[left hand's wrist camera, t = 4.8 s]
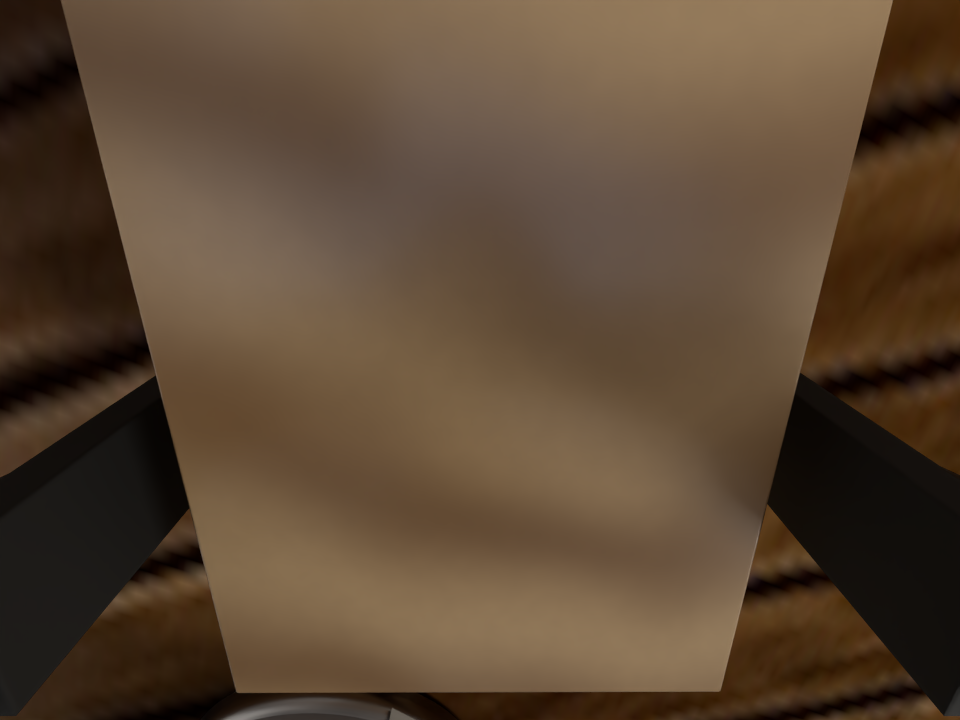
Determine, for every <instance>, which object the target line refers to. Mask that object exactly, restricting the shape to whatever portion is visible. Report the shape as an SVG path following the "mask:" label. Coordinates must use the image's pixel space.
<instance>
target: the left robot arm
mask: <svg viewBox="0 0 960 720" xmlns="http://www.w3.org/2000/svg"><path fill="white" fill-rule="evenodd" d="M767 504H768V505H769V506H770V508H771V509H772V510H773V511H774V512H775V514H776V515H777V516H778V517H779V518H780V520H781V521H782V522H783V523H784V524H785V526H786V527H787V528H788V529H789V530H790V532H791V533H792V534H793V535H794V536H795V538H796V539H797V540H798V541H799V543H800V544H801V545H802V546H803V547H804V549H805V550H806V551H807V552H808V553H809V555H810V556H811V557H812V558H813V559H814V561H815V562H816V563H817V564H818V565H819V567H820V568H821V569H822V570H823V571H824V573H825V574H826V575H827V576H828V577H829V579H830V580H831V581H832V582H833V583H834V585H835V586H836V587H837V588H838V589H839V591H840V592H841V593H842V594H843V595H844V597H845V598H846V599H847V600H848V601H849V603H850V604H851V605H852V606H853V607H854V609H855V610H856V611H857V612H858V613H859V615H860V616H861V617H862V618H863V619H864V621H865V622H866V623H867V624H868V625H869V627H870V628H871V629H872V630H873V631H874V633H875V634H876V635H877V636H878V637H879V639H880V640H881V641H882V642H883V643H884V645H885V646H886V647H887V648H888V649H889V651H890V652H891V653H892V654H893V655H894V657H895V658H896V659H897V660H898V661H899V663H900V664H901V665H902V666H903V667H904V669H905V670H906V671H907V672H908V673H909V675H910V676H911V677H912V678H913V679H914V681H915V682H916V683H917V684H918V685H919V687H920V688H921V689H922V690H923V691H924V693H925V694H926V695H927V696H928V697H929V699H930V700H931V701H932V702H933V703H934V705H935V706H936V707H937V708H938V709H939V711H940V712H941V713H942V714H943V715H944V716H960V475H958V474H956V473H954V472H952V471H949V470H947V469H945V468H943V467H941V466H939V465H937V464H936V463H934V462H933V461H931V460H930V459H928V458H927V457H925V456H924V455H922V454H921V453H919V452H918V451H916V450H915V449H913V448H912V447H910V446H909V445H907V444H906V443H904V442H903V441H901V440H900V439H898V438H897V437H895V436H894V435H892V434H891V433H889V432H888V431H886V430H885V429H883V428H882V427H880V426H879V425H877V424H876V423H874V422H873V421H871V420H870V419H868V418H867V417H865V416H864V415H862V414H861V413H859V412H858V411H856V410H855V409H853V408H852V407H850V406H849V405H847V404H846V403H844V402H843V401H841V400H840V399H838V398H837V397H835V396H834V395H832V394H831V393H830V392H828V391H827V390H825V389H824V388H822V387H821V386H819V385H818V384H816V383H815V382H813V381H812V380H810V379H809V378H807V377H806V376H804V375H803V374H801V373H800V374H799V378H798V382H797V386H796V390H795V394H794V398H793V402H792V406H791V410H790V414H789V418H788V422H787V426H786V430H785V434H784V438H783V442H782V446H781V450H780V454H779V458H778V462H777V466H776V470H775V474H774V478H773V482H772V486H771V490H770V494H769V498H768V502H767ZM188 509H189V504H188V500H187V496H186V492H185V488H184V484H183V480H182V476H181V472H180V468H179V464H178V460H177V456H176V453H175V449H174V445H173V441H172V437H171V433H170V429H169V425H168V421H167V417H166V413H165V409H164V405H163V401H162V397H161V393H160V389H159V386H158V382H157V378H156V376H154V377H153V378H151V379H150V380H148V381H147V382H145V383H144V384H142V385H141V386H139V387H138V388H136V389H135V390H133V391H132V392H130V393H129V394H127V395H126V396H124V397H123V398H121V399H120V400H119V401H117V402H116V403H114V404H113V405H111V406H110V407H108V408H107V409H105V410H104V411H102V412H101V413H99V414H98V415H96V416H95V417H93V418H92V419H90V420H89V421H87V422H86V423H84V424H83V425H81V426H80V427H78V428H77V429H75V430H74V431H72V432H71V433H69V434H68V435H66V436H65V437H63V438H62V439H60V440H59V441H57V442H56V443H54V444H53V445H51V446H50V447H48V448H47V449H45V450H44V451H42V452H41V453H39V454H38V455H36V456H35V457H33V458H32V459H30V460H29V461H27V462H26V463H24V464H23V465H21V466H20V467H18V468H17V469H15V470H14V471H12V472H11V473H9V474H7V475H5V476H3V477H0V716H16V715H17V714H18V713H19V712H20V711H21V709H22V708H23V707H24V706H25V705H26V703H27V702H28V701H29V700H30V699H31V697H32V696H33V695H34V694H35V693H36V691H37V690H38V689H39V688H40V687H41V685H42V684H43V683H44V682H45V681H46V679H47V678H48V677H49V676H50V675H51V673H52V672H53V671H54V670H55V669H56V667H57V666H58V665H59V664H60V663H61V661H62V660H63V659H64V658H65V657H66V655H67V654H68V653H69V652H70V651H71V649H72V648H73V647H74V646H75V644H76V643H77V642H78V641H79V640H80V638H81V637H82V636H83V635H84V634H85V632H86V631H87V630H88V629H89V628H90V626H91V625H92V624H93V623H94V622H95V620H96V619H97V618H98V617H99V616H100V614H101V613H102V612H103V611H104V610H105V608H106V607H107V606H108V605H109V604H110V602H111V601H112V600H113V599H114V598H115V596H116V595H117V594H118V593H119V592H120V590H121V589H122V588H123V587H124V586H125V584H126V583H127V582H128V581H129V580H130V578H131V577H132V576H133V575H134V574H135V572H136V571H137V570H138V569H139V568H140V566H141V565H142V564H143V563H144V562H145V560H146V559H147V558H148V557H149V556H150V554H151V553H152V552H153V551H154V550H155V548H156V547H157V546H158V545H159V544H160V542H161V541H162V540H163V539H164V538H165V536H166V535H167V534H168V533H169V532H170V530H171V529H172V528H173V527H174V526H175V524H176V523H177V522H178V521H179V520H180V518H181V517H182V516H183V515H184V514H185V512H186V511H187V510H188ZM200 720H458V719H457V718H456V717H454V716H453V715H452V714H451V713H449V712H448V711H447V710H446V709H444V708H443V707H441V706H439V705H438V704H436V703H435V702H433V701H431V700H430V699H428V698H426V697H424V696H422V695H420V694H418V693H416V692H367V693H237V692H234V693H232V694H230V695H228V696H227V697H225V698H224V699H222V700H221V701H219V702H218V703H217V704H215V705H214V706H213V707H212V708H211V709H210V710H208V712H207V713H206V714H205V715H204V716H203V717H202V718H201V719H200Z"/></svg>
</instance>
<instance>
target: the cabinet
mask: <svg viewBox="0 0 960 720" xmlns="http://www.w3.org/2000/svg"><path fill="white" fill-rule="evenodd" d="M892 2H893V0H61V3H62V7H63V11H64V15H65V19H66V23H67V27H68V31H69V35H70V39H71V43H72V47H73V51H74V55H75V58H76V62H77V66H78V70H79V74H80V78H81V82H82V86H83V90H84V94H85V98H86V102H87V106H88V110H89V114H90V118H91V122H92V125H93V129H94V133H95V137H96V141H97V145H98V149H99V153H100V157H101V161H102V165H103V169H104V173H105V177H106V181H107V185H108V189H109V192H110V196H111V200H112V204H113V208H114V212H115V216H116V220H117V224H118V228H119V232H120V236H121V240H122V244H123V248H124V252H125V255H126V259H127V263H128V267H129V271H130V275H131V279H132V283H133V287H134V291H135V295H136V299H137V303H138V307H139V311H140V315H141V319H142V322H143V326H144V330H145V334H146V338H147V342H148V346H149V350H150V354H151V358H152V362H153V366H154V370H155V374H156V378H157V382H158V386H159V389H160V393H161V397H162V401H163V405H164V409H165V413H166V417H167V421H168V425H169V429H170V433H171V437H172V441H173V445H174V449H175V453H176V456H177V460H178V464H179V468H180V472H181V476H182V480H183V484H184V488H185V492H186V496H187V500H188V504H189V508H190V512H191V516H192V519H193V523H194V527H195V531H196V535H197V539H198V543H199V547H200V551H201V555H202V559H203V563H204V567H205V571H206V575H207V579H208V583H209V586H210V590H211V594H212V598H213V602H214V606H215V610H216V614H217V618H218V622H219V626H220V630H221V634H222V638H223V642H224V646H225V650H226V653H227V657H228V661H229V665H230V669H231V673H232V677H233V681H234V685H235V689H236V692H237V693H367V692H694V691H720V690H721V686H722V682H723V678H724V674H725V670H726V666H727V662H728V658H729V654H730V650H731V646H732V642H733V638H734V634H735V630H736V626H737V622H738V618H739V614H740V610H741V606H742V602H743V598H744V594H745V590H746V586H747V582H748V578H749V574H750V570H751V566H752V562H753V558H754V554H755V550H756V546H757V542H758V538H759V534H760V530H761V526H762V522H763V518H764V514H765V510H766V506H767V502H768V498H769V494H770V490H771V486H772V482H773V478H774V474H775V470H776V466H777V462H778V458H779V454H780V450H781V446H782V442H783V438H784V434H785V430H786V426H787V422H788V418H789V414H790V410H791V406H792V402H793V398H794V394H795V390H796V386H797V382H798V378H799V374H800V370H801V366H802V362H803V358H804V354H805V350H806V346H807V342H808V338H809V334H810V330H811V326H812V322H813V318H814V314H815V310H816V306H817V302H818V298H819V294H820V290H821V286H822V282H823V278H824V274H825V270H826V266H827V262H828V258H829V254H830V250H831V246H832V242H833V238H834V234H835V230H836V226H837V222H838V218H839V214H840V210H841V206H842V202H843V198H844V194H845V190H846V186H847V182H848V178H849V174H850V170H851V166H852V162H853V158H854V154H855V150H856V146H857V142H858V138H859V134H860V130H861V126H862V122H863V118H864V114H865V110H866V106H867V102H868V98H869V94H870V90H871V86H872V82H873V78H874V74H875V70H876V66H877V62H878V58H879V54H880V50H881V46H882V42H883V38H884V34H885V30H886V26H887V22H888V18H889V14H890V10H891V6H892Z"/></svg>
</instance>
